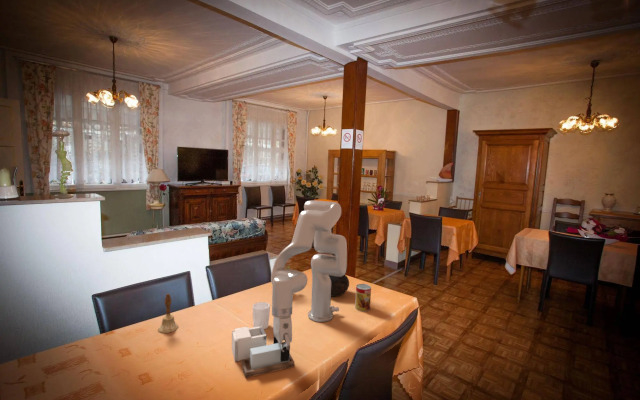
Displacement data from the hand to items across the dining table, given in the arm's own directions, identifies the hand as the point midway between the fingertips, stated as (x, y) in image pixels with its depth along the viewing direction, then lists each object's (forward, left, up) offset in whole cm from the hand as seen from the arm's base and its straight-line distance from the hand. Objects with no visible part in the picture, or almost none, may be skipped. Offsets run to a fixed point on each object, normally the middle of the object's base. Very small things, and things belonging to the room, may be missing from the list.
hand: (281, 353), depth 117 cm
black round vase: (-48, -53, -4) cm, 72 cm away
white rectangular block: (+4, 0, -3) cm, 5 cm away
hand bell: (+40, -41, -4) cm, 57 cm away
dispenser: (+10, -10, -4) cm, 15 cm away
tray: (+5, 0, -4) cm, 6 cm away
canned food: (-54, -30, -4) cm, 62 cm away
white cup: (+1, -29, -4) cm, 29 cm away
